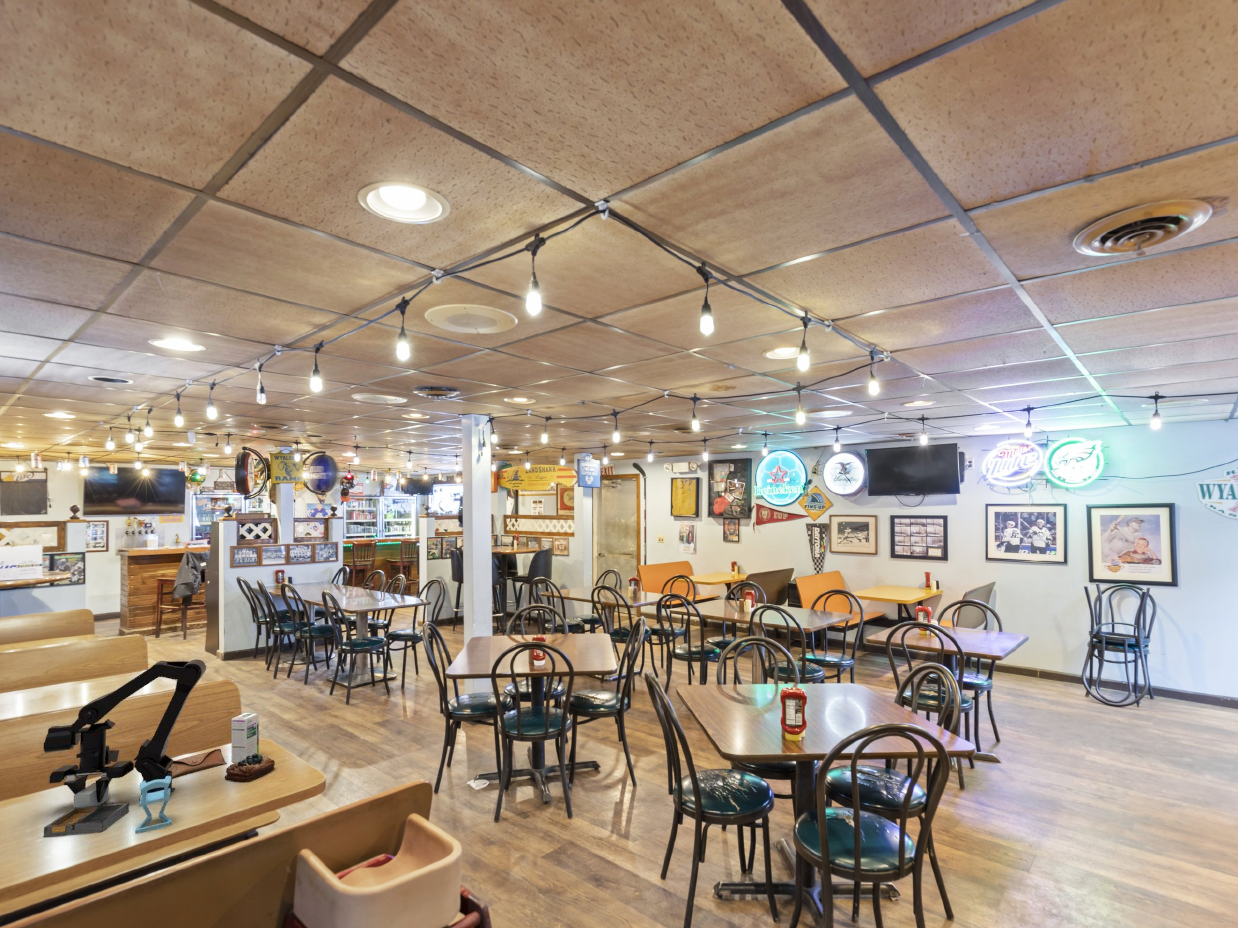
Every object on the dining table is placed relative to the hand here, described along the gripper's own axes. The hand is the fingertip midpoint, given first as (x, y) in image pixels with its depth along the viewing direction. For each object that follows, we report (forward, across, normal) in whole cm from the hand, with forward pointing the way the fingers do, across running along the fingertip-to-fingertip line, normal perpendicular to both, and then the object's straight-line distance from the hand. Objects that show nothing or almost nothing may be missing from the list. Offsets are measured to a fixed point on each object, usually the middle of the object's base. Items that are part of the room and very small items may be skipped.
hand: (91, 802), depth 178 cm
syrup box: (+1, -29, -28) cm, 40 cm away
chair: (+1, -24, +14) cm, 28 cm away
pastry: (+2, -36, -15) cm, 39 cm away
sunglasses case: (+2, -16, -23) cm, 28 cm away
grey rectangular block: (+1, 0, 0) cm, 1 cm away
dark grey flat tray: (+1, -6, +11) cm, 13 cm away
